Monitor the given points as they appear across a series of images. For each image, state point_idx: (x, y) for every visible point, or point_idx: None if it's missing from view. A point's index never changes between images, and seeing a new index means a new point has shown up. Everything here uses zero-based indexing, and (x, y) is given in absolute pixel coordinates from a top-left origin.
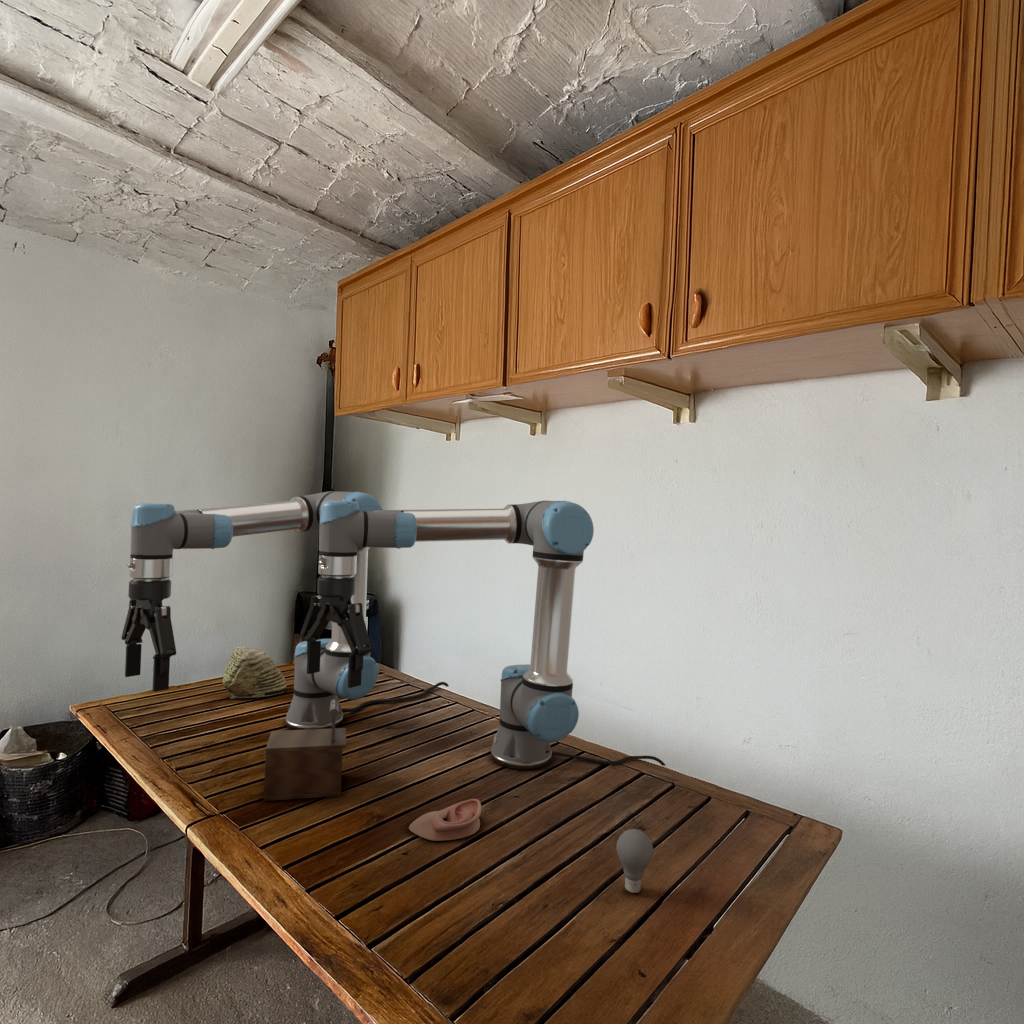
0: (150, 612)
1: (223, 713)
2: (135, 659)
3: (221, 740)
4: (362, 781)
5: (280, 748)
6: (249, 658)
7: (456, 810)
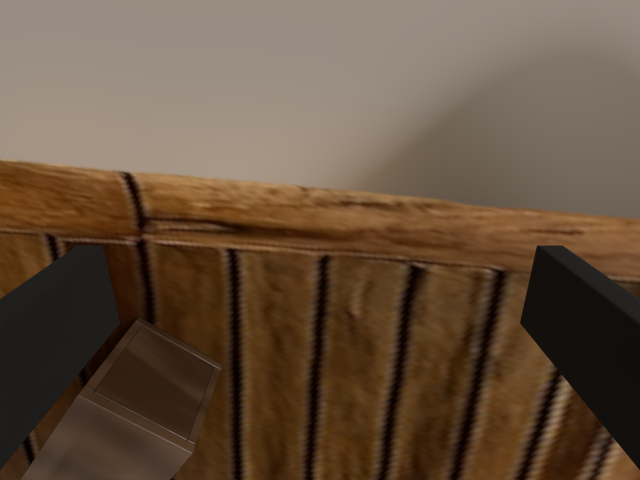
0: None
1: None
2: (598, 368)
3: (489, 391)
4: None
5: (63, 417)
6: None
7: None
